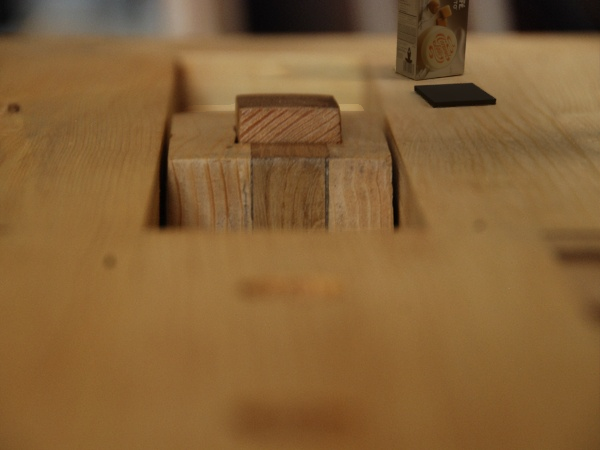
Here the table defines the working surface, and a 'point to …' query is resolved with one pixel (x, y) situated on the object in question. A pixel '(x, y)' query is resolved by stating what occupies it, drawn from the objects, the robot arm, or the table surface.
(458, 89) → the pad
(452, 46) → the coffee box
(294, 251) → the table surface
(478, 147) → the table surface
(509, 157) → the table surface
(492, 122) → the table surface
